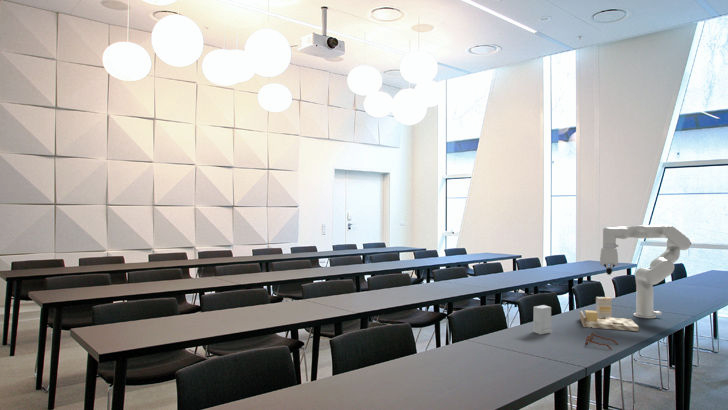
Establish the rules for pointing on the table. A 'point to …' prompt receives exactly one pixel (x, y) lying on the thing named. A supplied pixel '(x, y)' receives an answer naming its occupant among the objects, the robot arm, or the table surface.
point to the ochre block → (591, 315)
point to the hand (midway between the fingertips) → (609, 274)
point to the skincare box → (542, 319)
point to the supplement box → (604, 307)
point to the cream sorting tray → (610, 323)
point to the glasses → (596, 342)
